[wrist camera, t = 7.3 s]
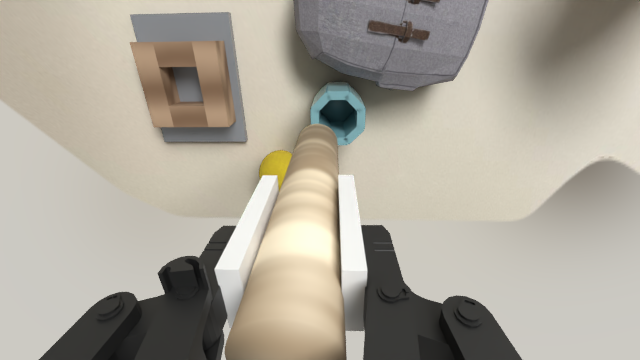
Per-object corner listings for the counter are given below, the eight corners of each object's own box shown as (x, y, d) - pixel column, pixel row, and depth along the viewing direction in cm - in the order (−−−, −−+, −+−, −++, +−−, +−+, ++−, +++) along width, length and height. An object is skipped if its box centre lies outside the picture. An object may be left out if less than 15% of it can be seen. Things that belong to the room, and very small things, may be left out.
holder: (145, 42, 35) (129, 42, 32) (223, 40, 35) (214, 40, 32) (166, 121, 40) (153, 127, 37) (236, 121, 39) (228, 127, 36)
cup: (314, 81, 37) (309, 91, 30) (360, 81, 37) (366, 90, 30) (315, 126, 40) (311, 145, 33) (358, 126, 39) (363, 145, 32)
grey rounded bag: (486, -46, 31) (305, -81, 30) (536, -74, 23) (296, -121, 23) (438, 95, 37) (289, 68, 37) (465, 108, 30) (278, 76, 29)
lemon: (263, 144, 41) (248, 166, 34) (300, 141, 41) (293, 163, 34) (269, 177, 44) (256, 204, 37) (304, 175, 43) (299, 202, 36)
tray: (134, 15, 35) (129, 14, 34) (230, 12, 34) (228, 12, 33) (167, 140, 42) (164, 141, 41) (247, 139, 41) (246, 141, 40)
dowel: (296, 123, 22) (213, 317, 7) (337, 123, 22) (347, 319, 7) (298, 161, 23) (235, 391, 8) (337, 161, 23) (345, 394, 8)
